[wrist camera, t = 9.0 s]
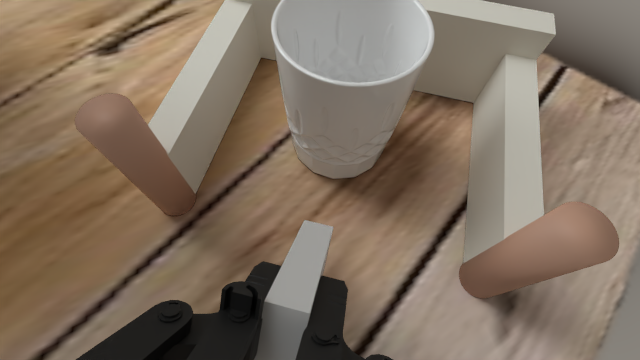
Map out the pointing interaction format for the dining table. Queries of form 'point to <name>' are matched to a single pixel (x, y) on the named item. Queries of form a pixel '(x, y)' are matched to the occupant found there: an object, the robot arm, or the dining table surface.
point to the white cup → (347, 76)
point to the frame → (436, 78)
